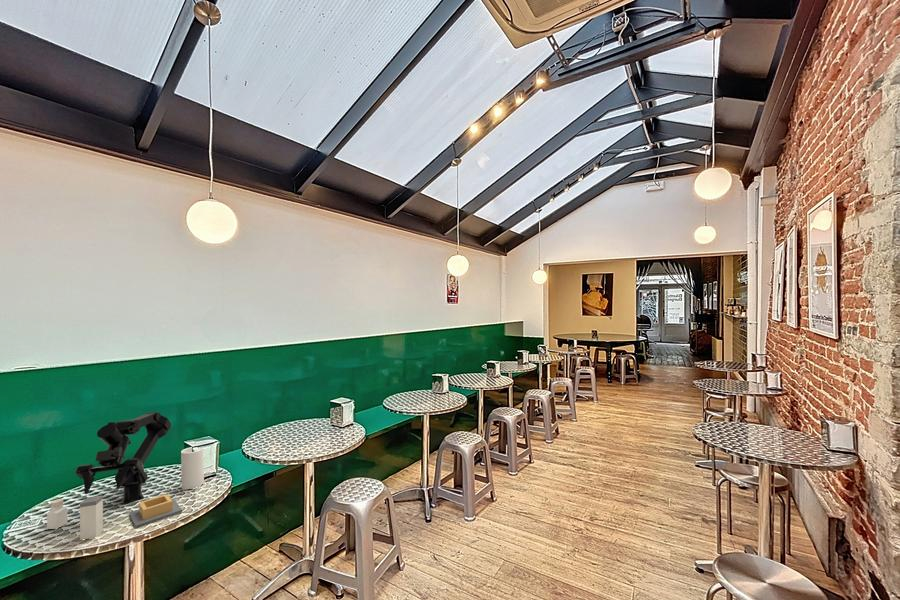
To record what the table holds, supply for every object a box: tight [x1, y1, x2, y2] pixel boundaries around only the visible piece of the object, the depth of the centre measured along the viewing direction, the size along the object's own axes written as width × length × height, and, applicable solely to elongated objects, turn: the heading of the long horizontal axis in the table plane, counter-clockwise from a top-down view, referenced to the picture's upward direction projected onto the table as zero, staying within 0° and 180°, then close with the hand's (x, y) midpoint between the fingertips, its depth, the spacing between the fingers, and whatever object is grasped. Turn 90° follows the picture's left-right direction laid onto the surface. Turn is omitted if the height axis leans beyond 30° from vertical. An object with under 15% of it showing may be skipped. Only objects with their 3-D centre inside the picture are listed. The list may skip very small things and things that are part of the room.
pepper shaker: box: [46, 498, 68, 530], centre depth 140 cm, size 4×4×10 cm
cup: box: [180, 446, 205, 491], centre depth 170 cm, size 8×8×16 cm
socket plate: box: [128, 493, 183, 529], centre depth 147 cm, size 14×14×4 cm
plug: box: [79, 495, 104, 541], centre depth 133 cm, size 4×4×12 cm
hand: (101, 491), depth 140 cm, fingers open, 9 cm apart
